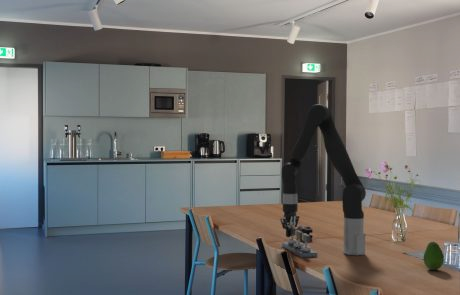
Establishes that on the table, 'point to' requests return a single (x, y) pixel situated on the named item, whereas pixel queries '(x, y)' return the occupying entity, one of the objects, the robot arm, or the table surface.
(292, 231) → the knob far
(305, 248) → the knob near
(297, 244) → the knob mid
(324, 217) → the table surface
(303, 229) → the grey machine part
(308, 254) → the level plate
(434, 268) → the avocado
